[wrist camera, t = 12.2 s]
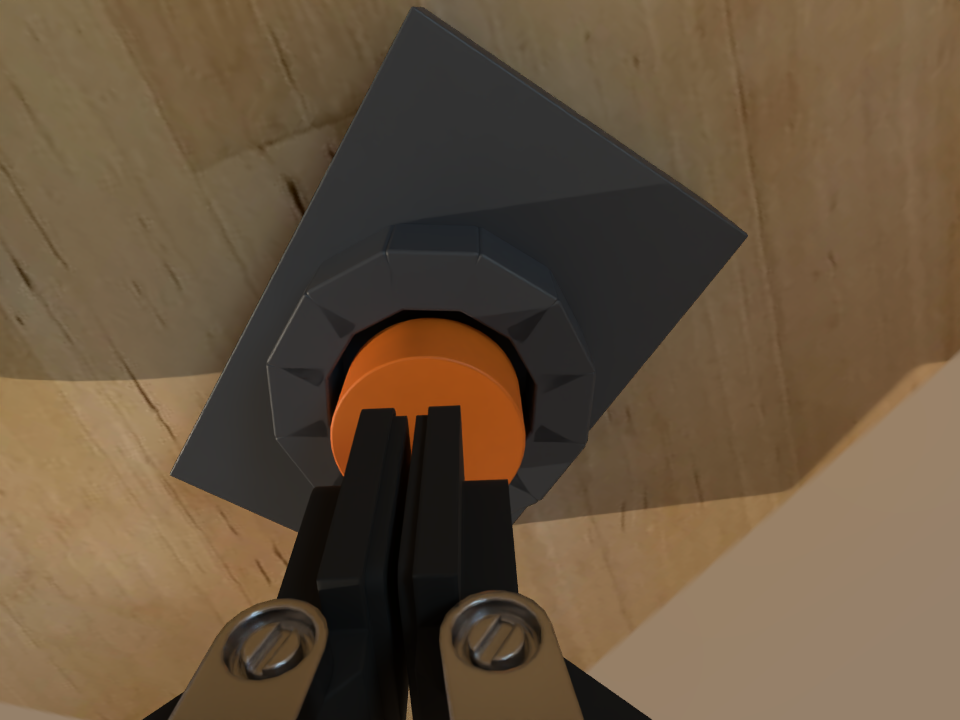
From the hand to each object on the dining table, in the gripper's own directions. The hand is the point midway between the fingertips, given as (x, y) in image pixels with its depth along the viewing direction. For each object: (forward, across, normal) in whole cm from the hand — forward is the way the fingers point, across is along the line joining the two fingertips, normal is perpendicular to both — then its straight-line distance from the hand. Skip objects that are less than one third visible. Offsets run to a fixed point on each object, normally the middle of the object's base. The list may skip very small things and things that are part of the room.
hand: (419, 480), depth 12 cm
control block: (+7, 0, 0) cm, 7 cm away
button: (+3, 0, 0) cm, 3 cm away
